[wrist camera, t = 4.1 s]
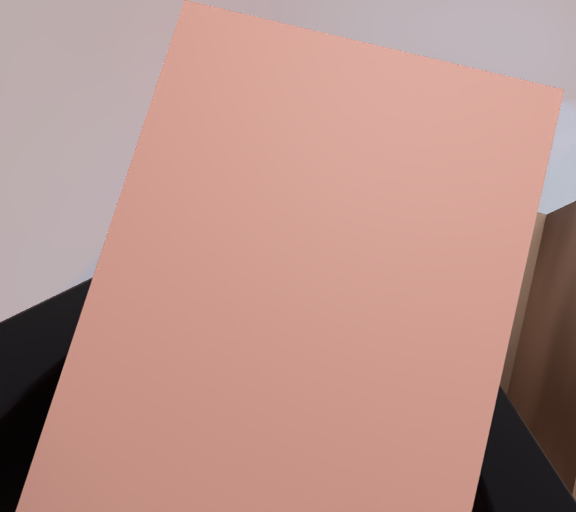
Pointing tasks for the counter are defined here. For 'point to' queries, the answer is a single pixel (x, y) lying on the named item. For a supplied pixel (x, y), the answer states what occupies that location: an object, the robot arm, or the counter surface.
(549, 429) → the book rack
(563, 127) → the counter surface
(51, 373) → the robot arm
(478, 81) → the pink rectangular block
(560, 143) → the counter surface
